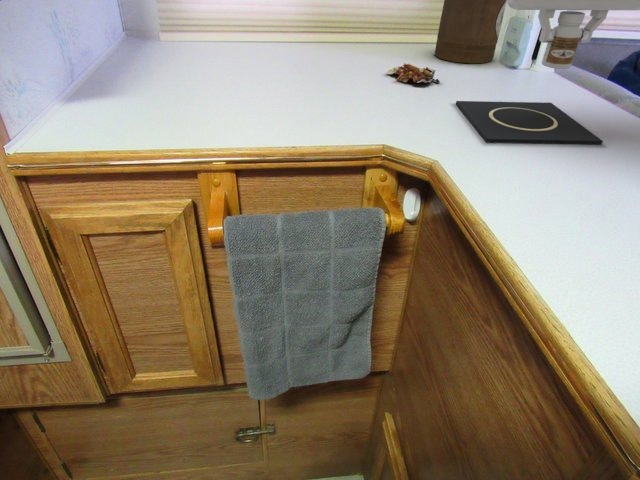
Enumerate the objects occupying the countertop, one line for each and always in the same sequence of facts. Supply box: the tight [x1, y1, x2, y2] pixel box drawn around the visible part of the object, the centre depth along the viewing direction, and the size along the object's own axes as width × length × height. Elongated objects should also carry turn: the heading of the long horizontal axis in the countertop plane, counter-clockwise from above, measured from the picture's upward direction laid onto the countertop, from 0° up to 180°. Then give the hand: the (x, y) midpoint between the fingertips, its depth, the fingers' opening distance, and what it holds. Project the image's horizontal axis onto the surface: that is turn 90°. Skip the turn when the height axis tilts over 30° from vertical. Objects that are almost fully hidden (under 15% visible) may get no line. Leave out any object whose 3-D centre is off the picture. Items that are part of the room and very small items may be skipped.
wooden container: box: [434, 0, 508, 65], centre depth 104 cm, size 15×15×22 cm
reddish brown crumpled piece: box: [386, 62, 441, 84], centre depth 92 cm, size 7×12×4 cm, turn 42°
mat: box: [455, 100, 603, 145], centre depth 72 cm, size 18×18×1 cm
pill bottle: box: [541, 10, 586, 70], centre depth 67 cm, size 4×4×8 cm
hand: (563, 42), depth 67 cm, fingers closed on pill bottle, 4 cm apart
